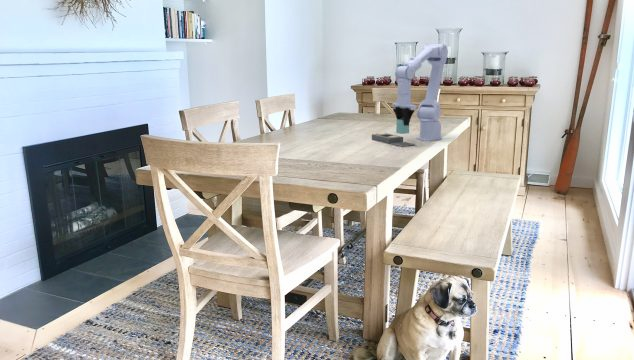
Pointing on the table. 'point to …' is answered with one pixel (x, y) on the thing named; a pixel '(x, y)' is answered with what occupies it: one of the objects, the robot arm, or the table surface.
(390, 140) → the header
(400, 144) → the mat
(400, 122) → the plug
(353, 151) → the table surface
